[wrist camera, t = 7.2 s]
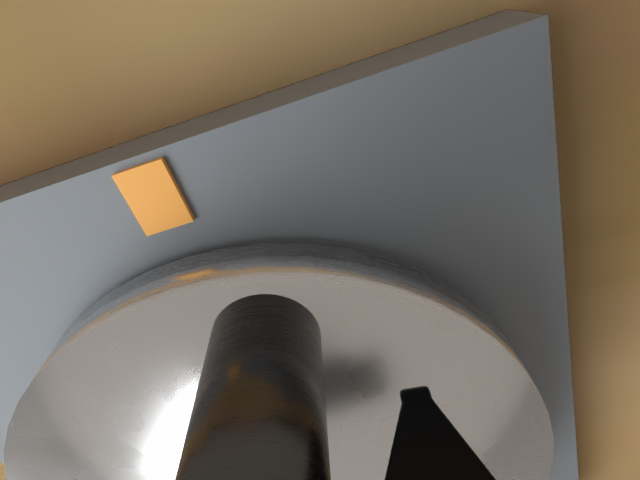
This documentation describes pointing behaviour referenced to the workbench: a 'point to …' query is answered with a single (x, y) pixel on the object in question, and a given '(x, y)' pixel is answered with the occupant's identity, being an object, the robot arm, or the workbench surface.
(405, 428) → the robot arm
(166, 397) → the dial
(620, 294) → the workbench surface
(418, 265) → the stand plate
